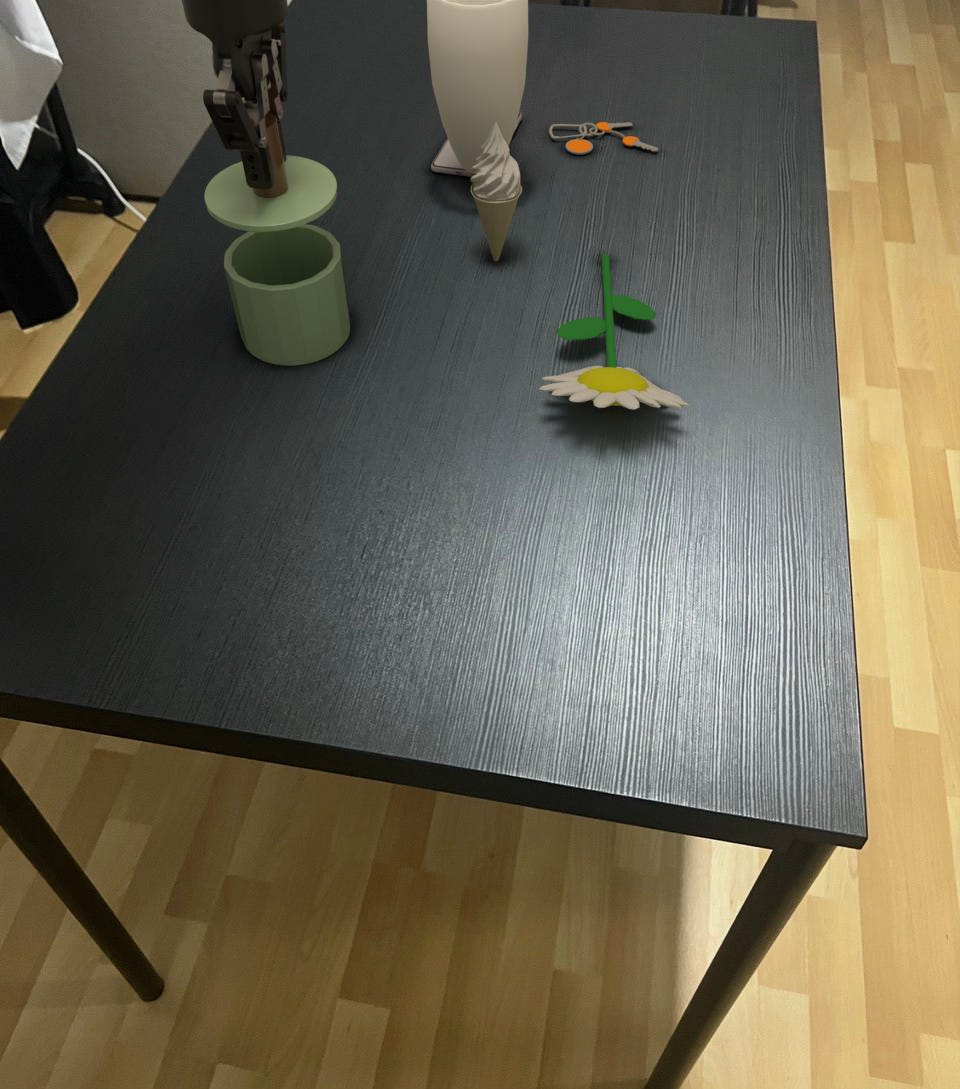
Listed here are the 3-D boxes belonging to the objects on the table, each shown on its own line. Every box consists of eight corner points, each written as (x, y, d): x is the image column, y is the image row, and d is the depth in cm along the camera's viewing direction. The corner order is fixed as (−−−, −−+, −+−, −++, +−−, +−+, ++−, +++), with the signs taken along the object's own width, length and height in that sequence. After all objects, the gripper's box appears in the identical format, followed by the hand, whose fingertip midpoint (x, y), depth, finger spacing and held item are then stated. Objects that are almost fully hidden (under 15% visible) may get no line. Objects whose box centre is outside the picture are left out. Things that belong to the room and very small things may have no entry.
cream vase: (512, 219, 108) (514, 15, 91) (422, 204, 110) (407, 2, 93) (537, 167, 114) (544, -34, 97) (451, 153, 116) (442, -46, 99)
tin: (296, 380, 91) (281, 304, 85) (219, 336, 96) (199, 260, 89) (372, 324, 97) (364, 248, 90) (297, 285, 101) (283, 210, 94)
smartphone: (428, 166, 114) (467, 104, 123) (429, 173, 114) (467, 111, 124) (489, 174, 112) (523, 111, 121) (489, 181, 113) (523, 118, 122)
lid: (271, 254, 81) (254, 172, 75) (179, 208, 85) (158, 126, 80) (365, 195, 86) (356, 114, 81) (275, 154, 91) (261, 75, 85)
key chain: (549, 155, 116) (549, 148, 116) (548, 123, 121) (548, 117, 121) (659, 155, 116) (660, 148, 115) (653, 124, 121) (654, 117, 120)
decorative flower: (541, 277, 105) (534, 449, 83) (545, 234, 102) (539, 400, 79) (661, 287, 105) (686, 462, 83) (670, 244, 101) (698, 414, 79)
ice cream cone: (495, 240, 106) (496, 101, 94) (530, 260, 103) (535, 119, 92) (461, 260, 103) (457, 120, 92) (496, 280, 101) (496, 139, 90)
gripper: (206, -89, 75) (249, 130, 89) (138, -14, 66) (197, 218, 80) (303, -85, 74) (331, 136, 88) (246, -8, 66) (288, 225, 79)
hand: (267, 174), depth 84 cm, fingers closed on lid, 3 cm apart
